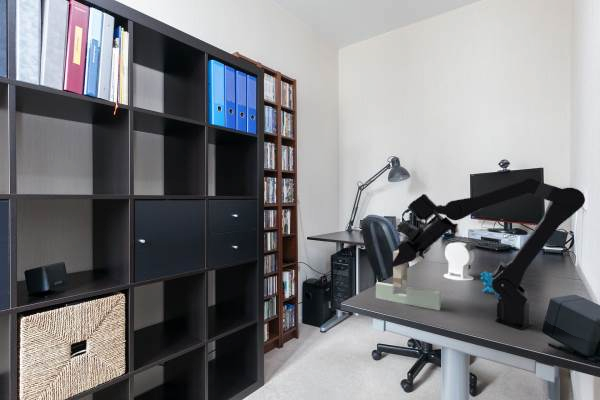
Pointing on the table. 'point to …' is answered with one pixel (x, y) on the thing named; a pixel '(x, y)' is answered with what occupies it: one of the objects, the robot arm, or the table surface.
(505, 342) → the table surface
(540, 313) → the table surface
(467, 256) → the white bracket stand
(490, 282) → the blue lumpy piece
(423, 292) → the sage slotted plate
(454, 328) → the table surface
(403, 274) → the ash notched plate
